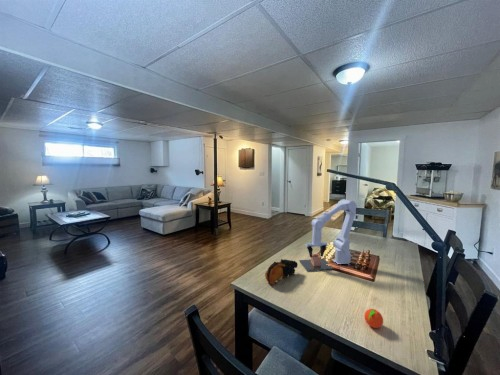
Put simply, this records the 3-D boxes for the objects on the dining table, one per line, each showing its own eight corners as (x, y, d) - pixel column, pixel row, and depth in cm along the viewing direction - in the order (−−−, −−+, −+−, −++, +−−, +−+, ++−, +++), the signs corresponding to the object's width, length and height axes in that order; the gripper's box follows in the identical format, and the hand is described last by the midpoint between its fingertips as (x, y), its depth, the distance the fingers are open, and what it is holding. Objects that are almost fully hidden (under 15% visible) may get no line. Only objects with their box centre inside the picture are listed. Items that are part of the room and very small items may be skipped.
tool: (294, 287, 131) (301, 263, 133) (270, 287, 117) (278, 259, 119) (284, 281, 138) (291, 258, 139) (260, 280, 123) (268, 254, 125)
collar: (317, 262, 147) (317, 253, 146) (321, 265, 142) (321, 256, 141) (310, 262, 146) (311, 254, 146) (313, 266, 141) (314, 257, 141)
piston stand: (323, 259, 153) (323, 253, 152) (333, 269, 139) (333, 262, 138) (299, 261, 150) (299, 254, 150) (307, 271, 136) (307, 264, 136)
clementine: (376, 336, 86) (377, 319, 85) (359, 325, 91) (360, 310, 91) (385, 327, 90) (386, 311, 90) (368, 317, 96) (369, 302, 95)
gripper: (308, 239, 137) (308, 259, 139) (330, 238, 139) (329, 258, 141) (304, 236, 144) (304, 255, 146) (324, 234, 146) (324, 253, 148)
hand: (316, 256), depth 144 cm, fingers open, 7 cm apart
